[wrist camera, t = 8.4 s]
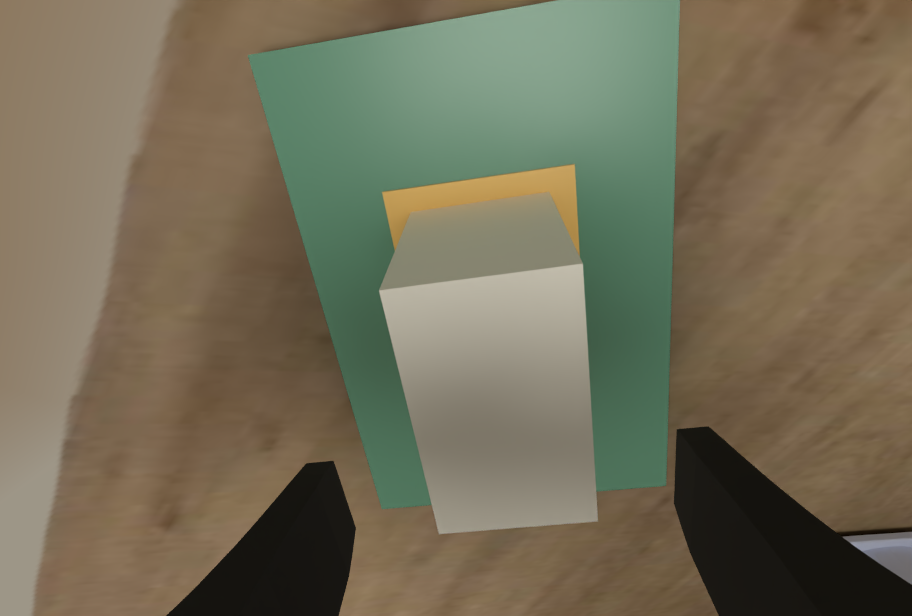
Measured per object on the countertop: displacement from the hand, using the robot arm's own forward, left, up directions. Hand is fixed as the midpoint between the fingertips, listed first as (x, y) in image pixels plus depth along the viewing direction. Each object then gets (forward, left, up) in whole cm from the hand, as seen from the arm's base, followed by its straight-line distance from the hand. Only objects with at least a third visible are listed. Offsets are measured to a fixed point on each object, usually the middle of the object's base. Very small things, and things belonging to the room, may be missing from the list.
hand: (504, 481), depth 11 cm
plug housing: (0, 0, -8) cm, 8 cm away
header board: (0, 0, -9) cm, 9 cm away
